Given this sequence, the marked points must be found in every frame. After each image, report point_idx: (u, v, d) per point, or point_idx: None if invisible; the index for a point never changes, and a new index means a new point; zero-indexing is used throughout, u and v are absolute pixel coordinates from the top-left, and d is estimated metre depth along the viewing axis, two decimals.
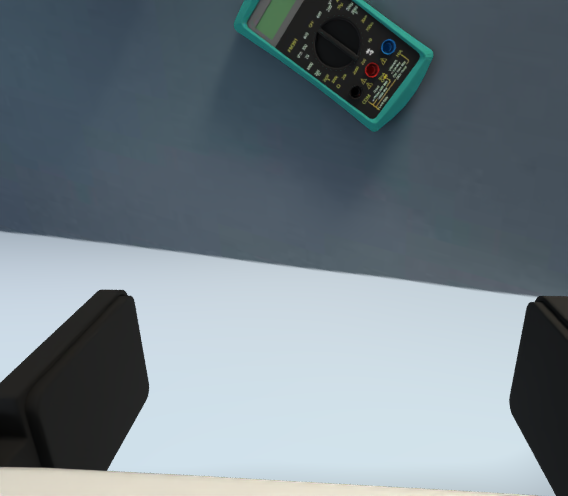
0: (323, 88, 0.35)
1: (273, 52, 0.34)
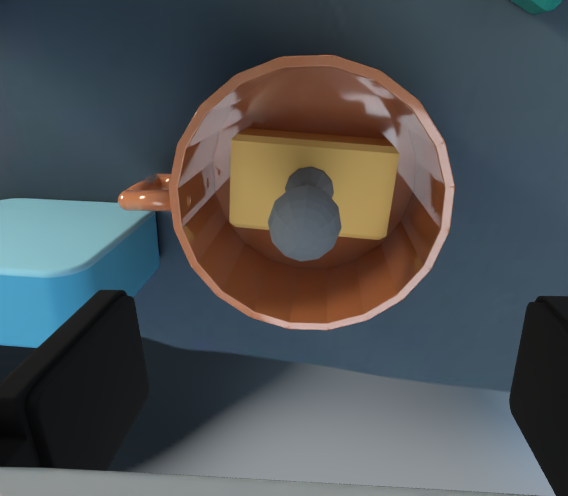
0: None
1: None
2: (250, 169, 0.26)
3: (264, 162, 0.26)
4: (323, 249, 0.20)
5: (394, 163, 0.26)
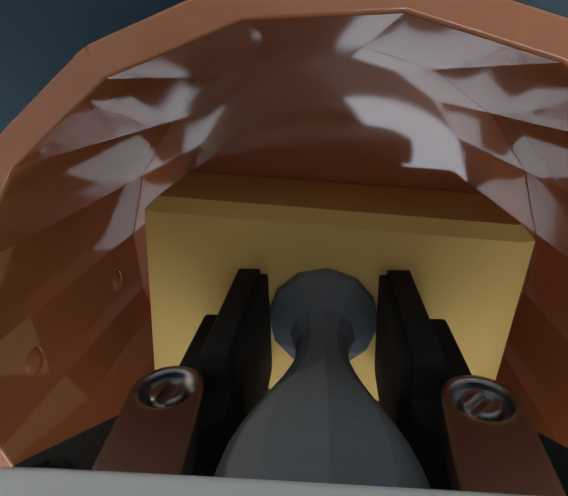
0: None
1: None
2: (191, 272, 0.12)
3: (222, 259, 0.12)
4: None
5: (521, 263, 0.11)
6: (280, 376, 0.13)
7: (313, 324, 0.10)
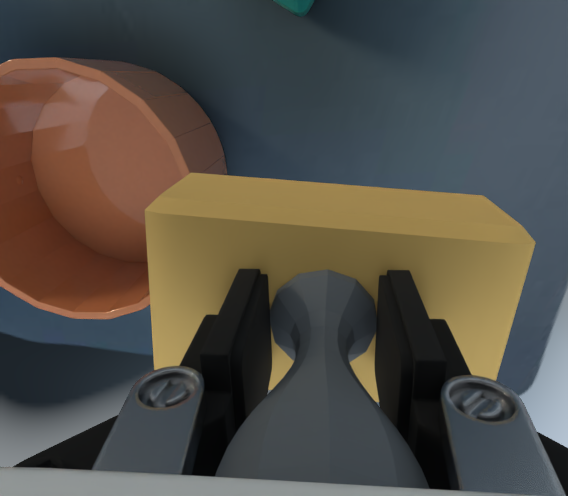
0: None
1: None
2: (191, 273, 0.12)
3: (222, 260, 0.12)
4: None
5: (521, 265, 0.11)
6: (280, 377, 0.13)
7: (313, 326, 0.10)
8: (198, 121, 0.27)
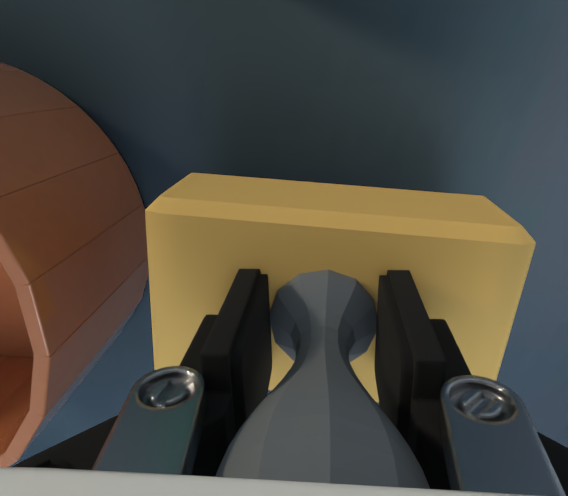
0: None
1: None
2: (191, 273, 0.12)
3: (222, 260, 0.12)
4: None
5: (522, 265, 0.11)
6: (280, 377, 0.13)
7: (313, 326, 0.10)
8: (80, 156, 0.16)
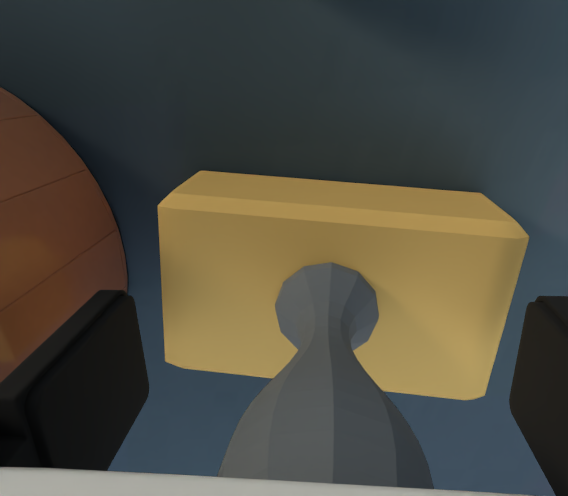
0: None
1: None
2: (201, 265, 0.12)
3: (231, 253, 0.12)
4: None
5: (516, 258, 0.12)
6: (285, 366, 0.13)
7: (317, 315, 0.11)
8: (34, 176, 0.13)
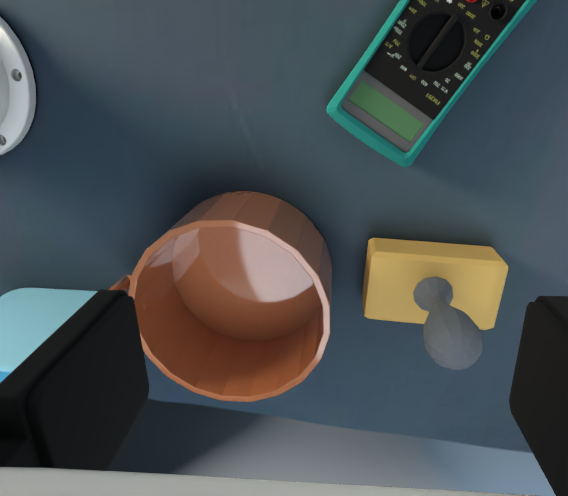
0: (487, 57, 0.28)
1: (438, 121, 0.30)
2: (386, 278, 0.33)
3: (398, 273, 0.33)
4: (472, 363, 0.26)
5: (504, 274, 0.32)
6: (414, 316, 0.34)
7: (434, 295, 0.32)
8: (319, 244, 0.34)
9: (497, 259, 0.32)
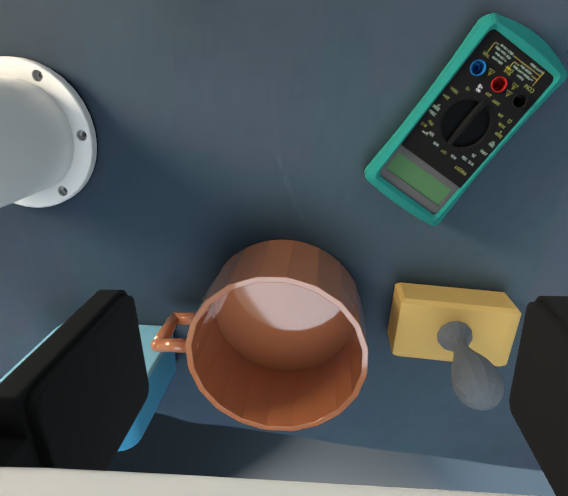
0: (509, 137, 0.33)
1: (464, 189, 0.34)
2: (413, 321, 0.38)
3: (424, 317, 0.37)
4: (495, 405, 0.31)
5: (517, 320, 0.37)
6: (437, 354, 0.39)
7: (457, 338, 0.36)
8: (353, 290, 0.38)
9: (511, 306, 0.37)
